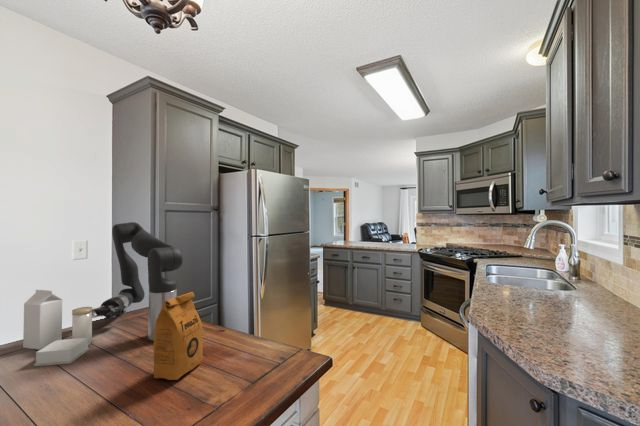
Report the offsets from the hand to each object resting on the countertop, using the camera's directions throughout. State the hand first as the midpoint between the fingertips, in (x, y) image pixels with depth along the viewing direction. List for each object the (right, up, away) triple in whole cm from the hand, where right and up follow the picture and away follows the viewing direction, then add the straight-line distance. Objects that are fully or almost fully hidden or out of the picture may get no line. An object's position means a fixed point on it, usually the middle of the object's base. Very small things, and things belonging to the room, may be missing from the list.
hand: (93, 318), depth 110 cm
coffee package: (+44, -7, -25) cm, 51 cm away
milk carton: (-12, -7, -8) cm, 16 cm away
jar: (+1, -6, -7) cm, 10 cm away
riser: (+3, -6, -17) cm, 18 cm away
